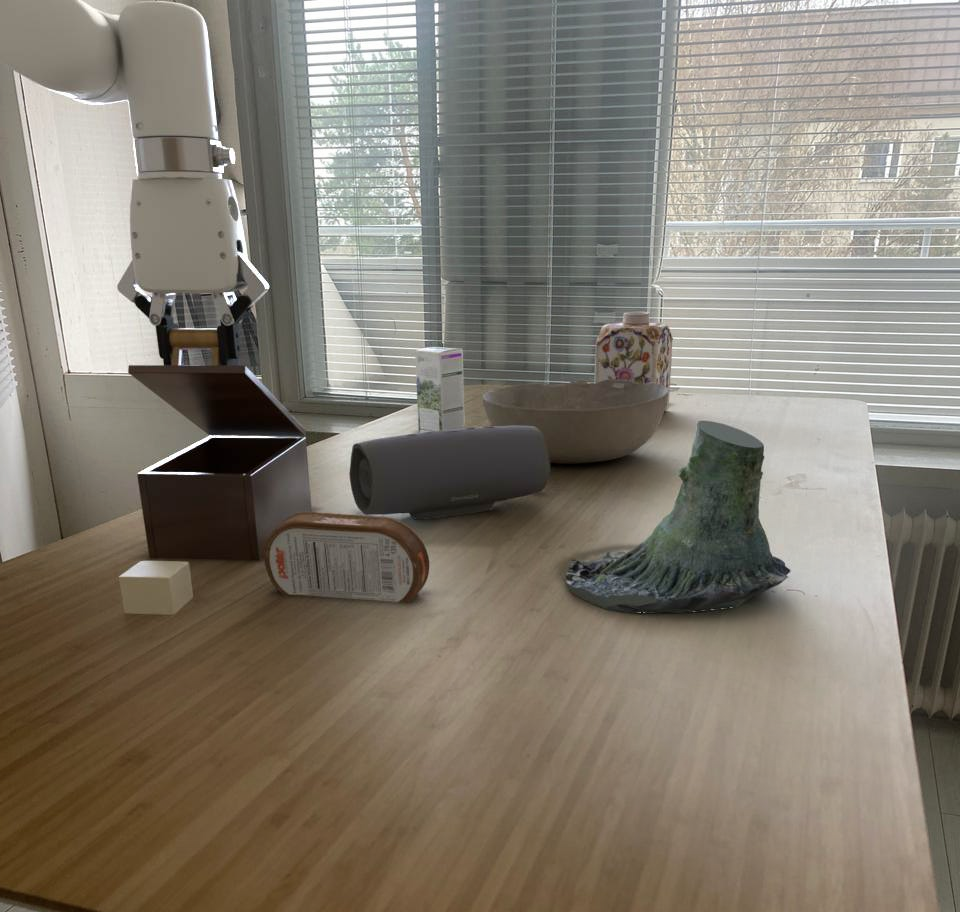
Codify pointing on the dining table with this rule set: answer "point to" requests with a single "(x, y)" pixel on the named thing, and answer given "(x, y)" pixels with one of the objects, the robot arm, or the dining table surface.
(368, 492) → the bluetooth speaker
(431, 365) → the syrup box
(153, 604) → the block
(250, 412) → the lid
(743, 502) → the tree stump
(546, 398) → the bowl
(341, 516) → the tin
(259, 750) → the dining table surface
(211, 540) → the chest
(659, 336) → the decorative jar
